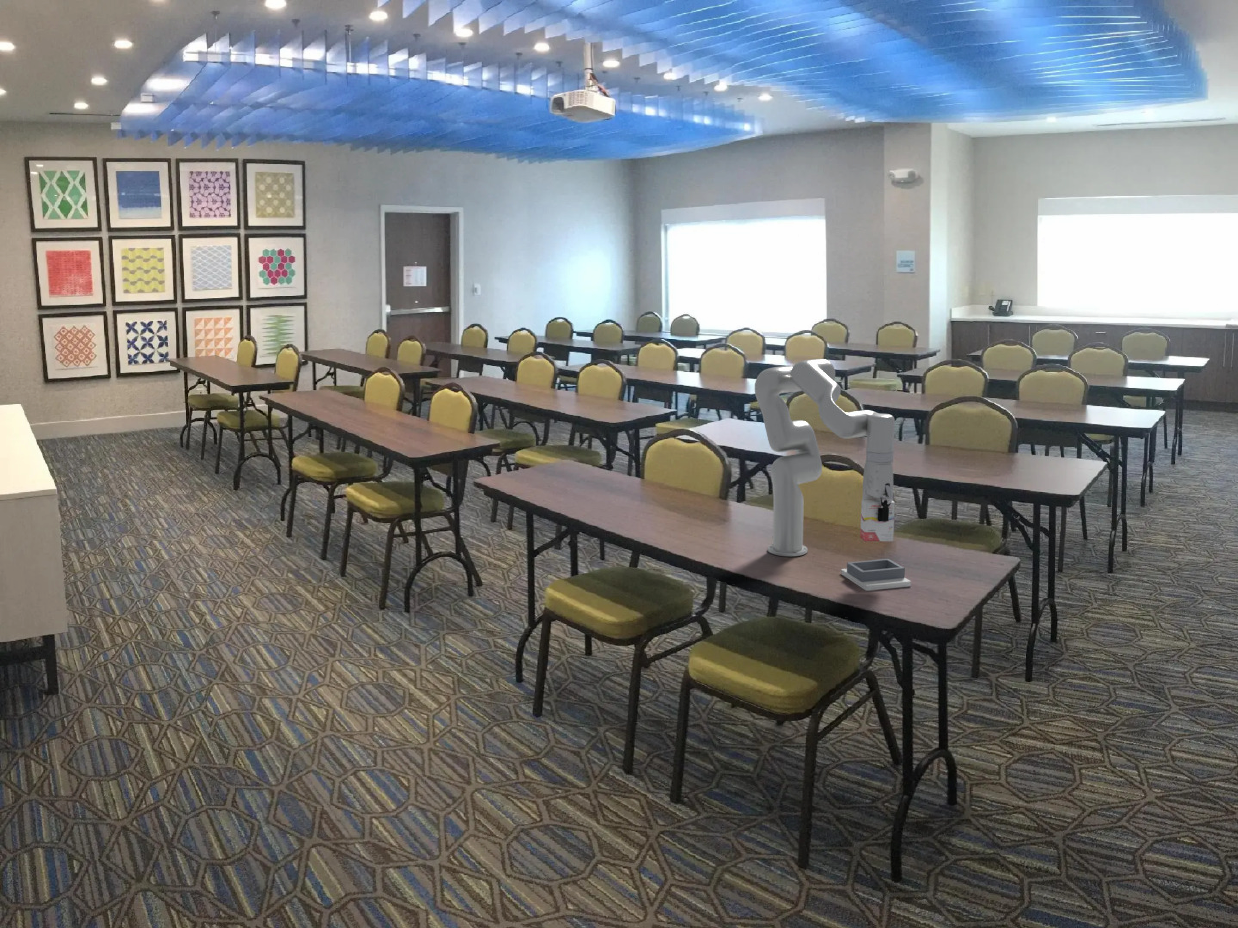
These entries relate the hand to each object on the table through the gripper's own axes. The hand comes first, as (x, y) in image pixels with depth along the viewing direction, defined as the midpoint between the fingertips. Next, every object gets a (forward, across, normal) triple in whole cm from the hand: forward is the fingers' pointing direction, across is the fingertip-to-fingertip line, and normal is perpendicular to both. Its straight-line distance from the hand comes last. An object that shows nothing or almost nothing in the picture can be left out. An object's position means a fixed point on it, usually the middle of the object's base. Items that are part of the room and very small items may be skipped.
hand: (877, 517), depth 278 cm
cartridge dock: (+19, 0, 0) cm, 19 cm away
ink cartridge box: (+7, 0, 0) cm, 7 cm away
